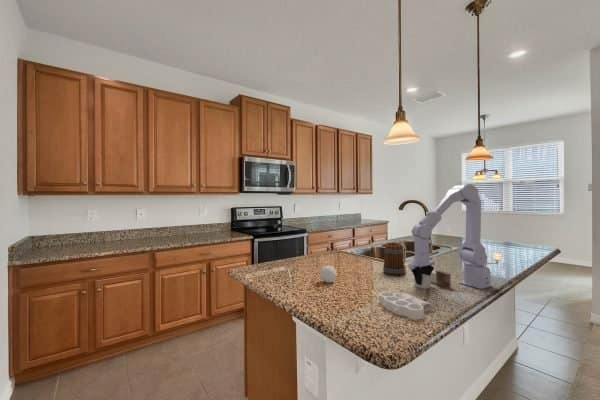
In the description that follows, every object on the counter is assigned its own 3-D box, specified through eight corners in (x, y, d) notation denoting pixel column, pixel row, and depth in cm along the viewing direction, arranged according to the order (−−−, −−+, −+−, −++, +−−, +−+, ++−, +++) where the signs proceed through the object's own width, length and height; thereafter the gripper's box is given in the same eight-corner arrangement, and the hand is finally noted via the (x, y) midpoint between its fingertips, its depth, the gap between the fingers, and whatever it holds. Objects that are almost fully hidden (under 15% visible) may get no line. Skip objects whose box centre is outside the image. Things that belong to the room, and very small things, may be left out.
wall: (451, 287, 114) (451, 273, 114) (448, 288, 113) (448, 274, 113) (438, 284, 119) (438, 270, 119) (435, 284, 118) (435, 271, 118)
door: (441, 282, 120) (441, 273, 120) (438, 283, 119) (438, 274, 119) (418, 275, 131) (418, 267, 131) (415, 276, 130) (415, 268, 130)
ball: (329, 289, 124) (326, 278, 119) (318, 279, 129) (315, 269, 125) (341, 279, 127) (338, 268, 122) (329, 270, 132) (327, 259, 128)
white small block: (430, 287, 115) (430, 275, 115) (424, 289, 113) (424, 277, 113) (420, 284, 120) (420, 273, 120) (414, 285, 118) (414, 274, 118)
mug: (401, 277, 131) (401, 246, 131) (380, 274, 137) (379, 244, 137) (410, 270, 143) (409, 241, 143) (390, 267, 150) (389, 240, 150)
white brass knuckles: (440, 314, 90) (408, 324, 84) (399, 296, 106) (369, 303, 100) (440, 304, 90) (407, 313, 84) (399, 288, 106) (369, 294, 100)
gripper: (424, 248, 123) (425, 278, 124) (402, 252, 117) (403, 283, 117) (439, 251, 117) (439, 282, 117) (416, 255, 110) (416, 288, 111)
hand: (422, 283), depth 117 cm, fingers closed on white small block, 4 cm apart
